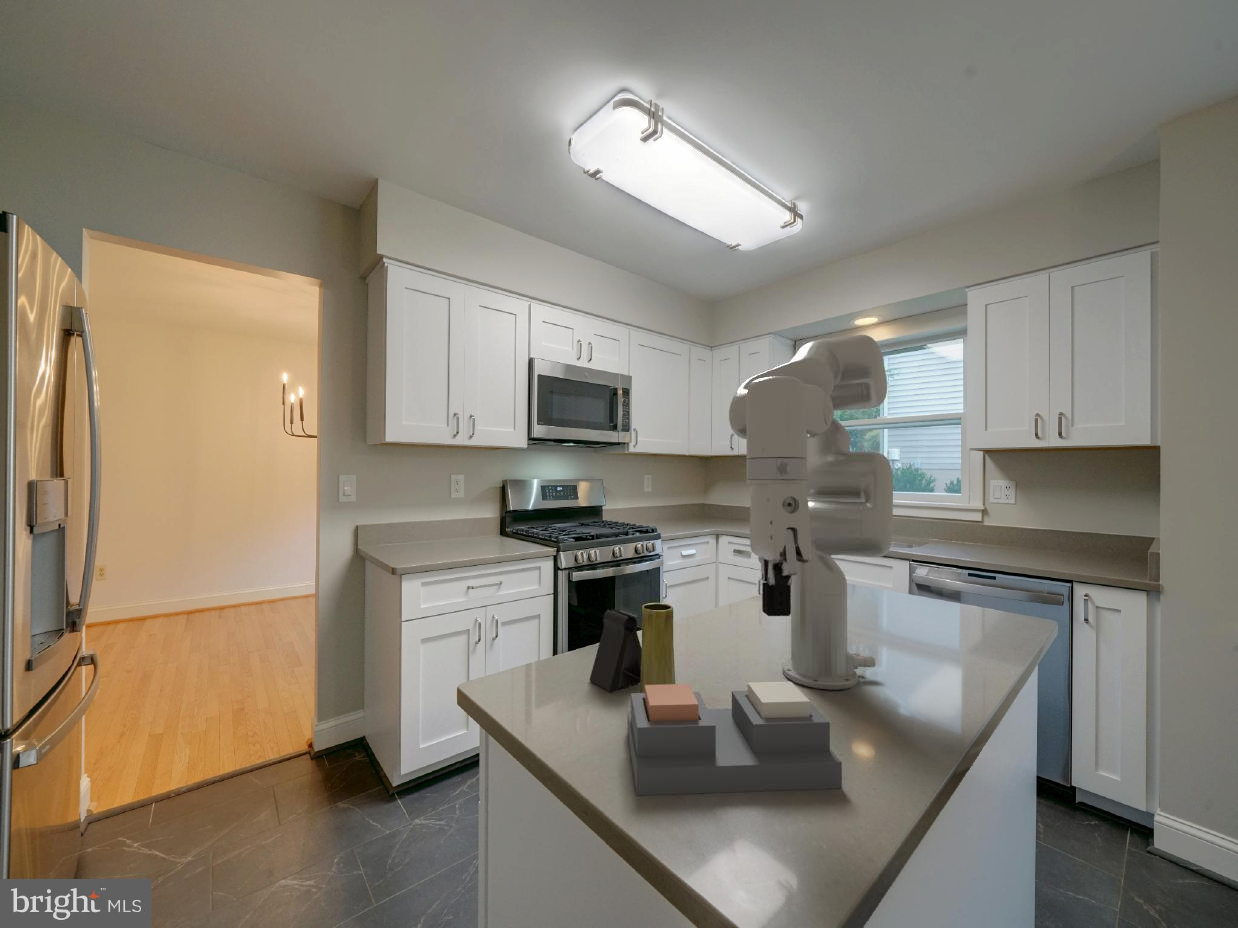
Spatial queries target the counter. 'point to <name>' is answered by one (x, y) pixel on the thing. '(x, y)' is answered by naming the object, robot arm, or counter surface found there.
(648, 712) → the terracotta button
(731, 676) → the counter surface
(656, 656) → the vase
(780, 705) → the ivory button
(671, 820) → the counter surface
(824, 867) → the counter surface
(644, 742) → the button panel
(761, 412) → the robot arm
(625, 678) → the phone stand
